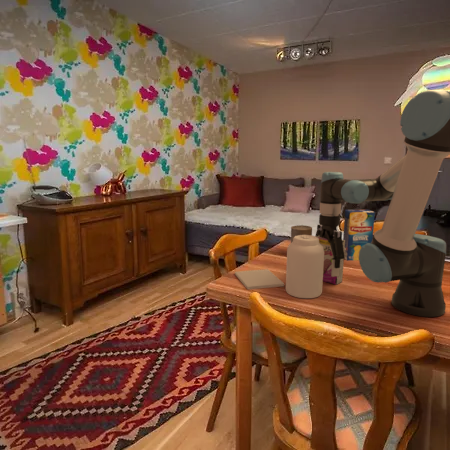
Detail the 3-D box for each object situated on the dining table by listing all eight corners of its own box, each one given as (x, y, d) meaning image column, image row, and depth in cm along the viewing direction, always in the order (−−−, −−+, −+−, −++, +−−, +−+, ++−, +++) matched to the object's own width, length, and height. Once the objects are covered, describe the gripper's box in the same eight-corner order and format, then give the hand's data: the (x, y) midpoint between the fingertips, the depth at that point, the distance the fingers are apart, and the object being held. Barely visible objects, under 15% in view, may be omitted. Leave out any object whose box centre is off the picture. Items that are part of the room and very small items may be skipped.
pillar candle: (314, 254, 175) (315, 223, 172) (306, 259, 167) (308, 227, 164) (294, 252, 180) (295, 221, 178) (286, 256, 172) (287, 225, 169)
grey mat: (284, 286, 135) (284, 283, 135) (247, 289, 132) (247, 286, 132) (267, 271, 151) (267, 269, 151) (234, 274, 148) (234, 271, 148)
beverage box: (371, 260, 167) (375, 212, 162) (346, 260, 166) (350, 212, 162) (365, 256, 173) (368, 209, 169) (341, 256, 173) (344, 209, 169)
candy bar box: (309, 278, 143) (311, 237, 140) (316, 275, 147) (318, 235, 144) (336, 285, 136) (339, 242, 132) (342, 282, 139) (345, 239, 136)
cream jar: (283, 285, 136) (285, 232, 132) (317, 286, 135) (320, 232, 131) (287, 299, 123) (290, 241, 119) (325, 299, 123) (329, 241, 119)
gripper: (358, 219, 126) (353, 280, 130) (323, 208, 148) (320, 260, 153) (338, 220, 124) (334, 282, 128) (306, 209, 147) (303, 262, 151)
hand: (326, 270), depth 141 cm, fingers closed on candy bar box, 12 cm apart
